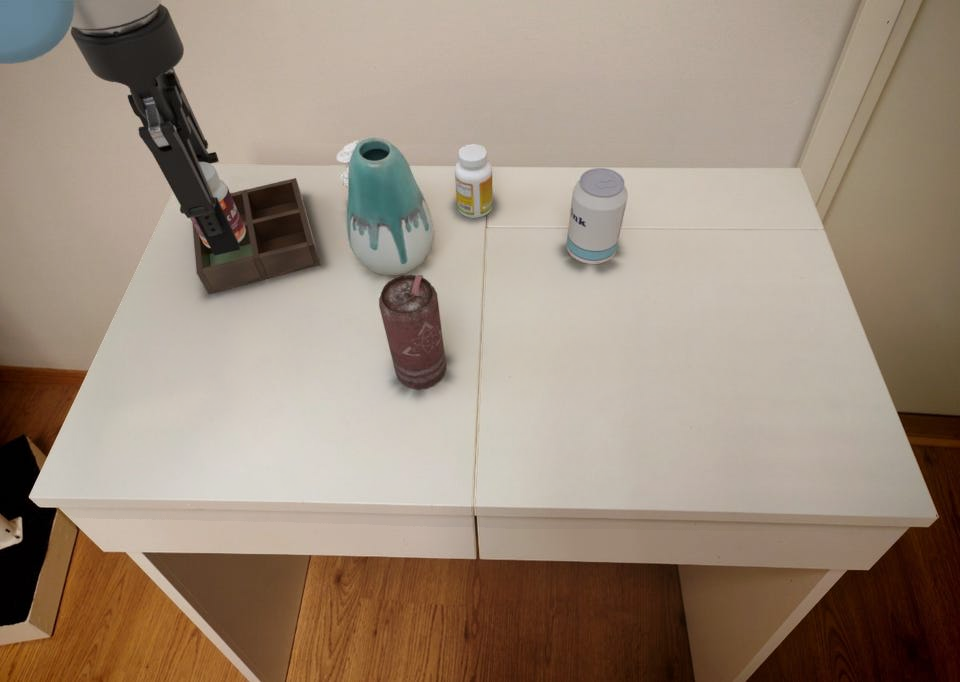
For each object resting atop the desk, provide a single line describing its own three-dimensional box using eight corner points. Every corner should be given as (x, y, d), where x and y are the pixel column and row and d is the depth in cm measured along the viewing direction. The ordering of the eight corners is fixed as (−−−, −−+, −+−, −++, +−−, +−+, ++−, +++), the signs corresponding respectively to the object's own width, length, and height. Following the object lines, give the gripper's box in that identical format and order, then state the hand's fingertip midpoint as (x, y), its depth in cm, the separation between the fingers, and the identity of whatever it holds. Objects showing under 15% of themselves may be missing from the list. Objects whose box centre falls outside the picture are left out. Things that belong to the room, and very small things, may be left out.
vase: (451, 266, 83) (441, 156, 68) (375, 299, 79) (348, 190, 65) (413, 218, 89) (397, 109, 74) (342, 247, 85) (310, 138, 71)
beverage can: (559, 240, 85) (566, 170, 76) (604, 230, 86) (617, 160, 76) (575, 273, 81) (585, 204, 71) (623, 263, 82) (639, 193, 72)
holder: (208, 294, 81) (196, 273, 77) (201, 223, 90) (190, 202, 86) (320, 264, 83) (313, 243, 80) (303, 198, 92) (295, 177, 89)
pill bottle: (230, 255, 64) (199, 192, 57) (194, 245, 65) (159, 182, 58) (255, 227, 67) (228, 164, 60) (220, 217, 68) (190, 154, 61)
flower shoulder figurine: (373, 227, 88) (357, 158, 78) (346, 228, 88) (328, 159, 78) (378, 189, 93) (364, 120, 84) (353, 189, 93) (337, 121, 84)
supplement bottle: (490, 193, 92) (489, 138, 84) (495, 216, 89) (494, 161, 81) (455, 197, 91) (451, 142, 84) (459, 220, 88) (455, 165, 81)
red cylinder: (452, 353, 73) (444, 274, 62) (438, 395, 70) (427, 320, 59) (405, 345, 74) (389, 265, 63) (389, 386, 71) (369, 310, 59)
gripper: (167, 57, 43) (268, 280, 61) (164, -36, 53) (251, 179, 72) (55, 78, 41) (193, 299, 60) (75, -22, 52) (187, 193, 70)
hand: (225, 233), depth 66 cm, fingers closed on pill bottle, 5 cm apart
